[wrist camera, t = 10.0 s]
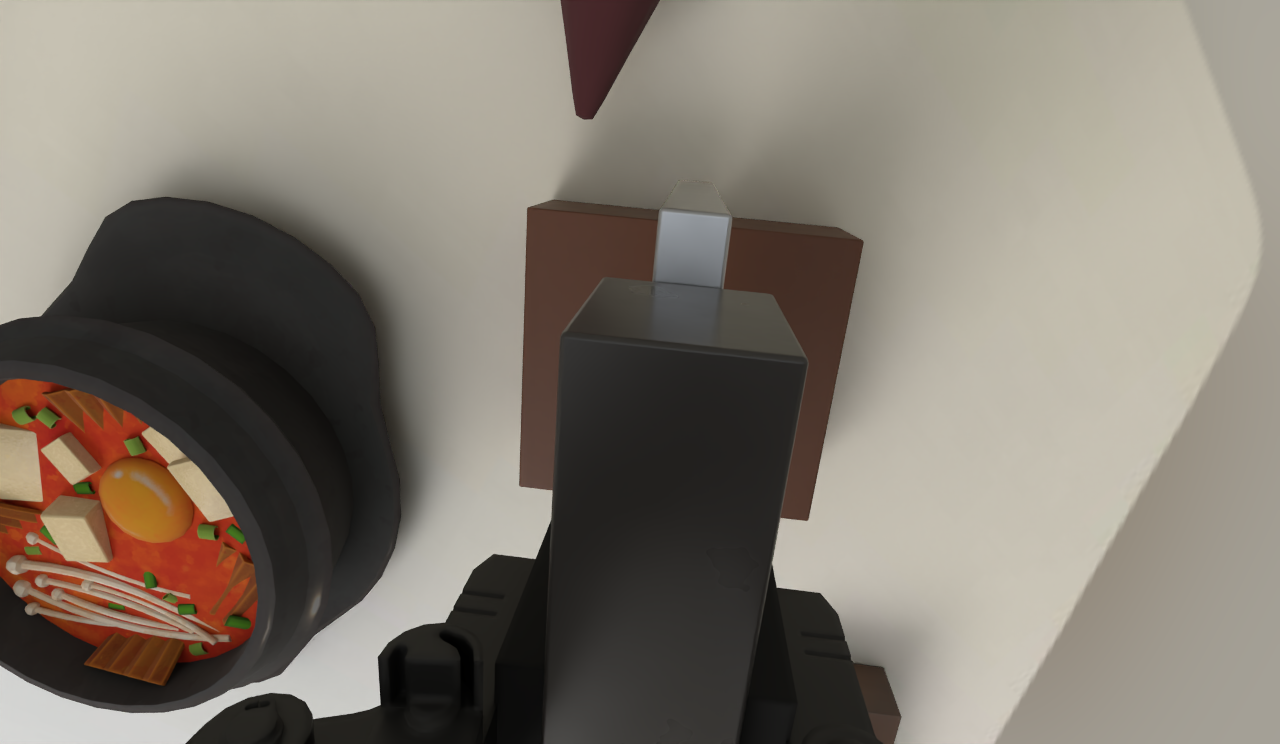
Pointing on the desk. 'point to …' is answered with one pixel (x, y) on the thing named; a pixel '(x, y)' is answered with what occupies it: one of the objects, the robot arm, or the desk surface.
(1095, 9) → the desk surface
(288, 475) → the casserole
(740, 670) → the knife
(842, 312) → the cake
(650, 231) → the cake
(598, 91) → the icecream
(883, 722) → the knife stand
